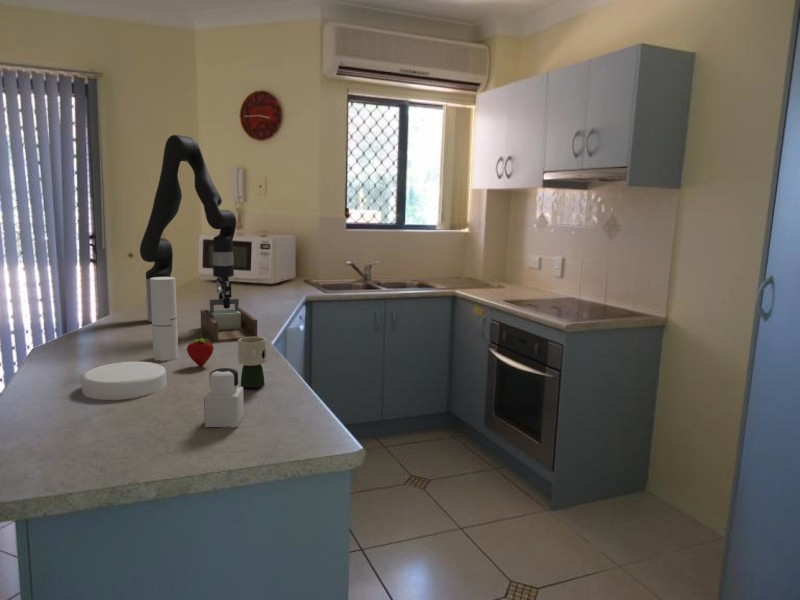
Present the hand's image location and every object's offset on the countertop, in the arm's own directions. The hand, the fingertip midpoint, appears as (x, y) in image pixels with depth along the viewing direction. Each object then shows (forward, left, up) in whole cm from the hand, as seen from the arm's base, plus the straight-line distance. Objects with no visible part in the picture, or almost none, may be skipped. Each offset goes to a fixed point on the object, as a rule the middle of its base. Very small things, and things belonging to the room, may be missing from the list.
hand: (224, 306), depth 217 cm
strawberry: (-17, -47, -9) cm, 51 cm away
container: (-38, -59, -10) cm, 71 cm away
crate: (0, 0, -8) cm, 8 cm away
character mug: (-8, -72, -9) cm, 73 cm away
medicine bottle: (-20, -94, -9) cm, 97 cm away
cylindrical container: (-25, -33, -9) cm, 42 cm away
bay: (0, -6, -9) cm, 11 cm away
